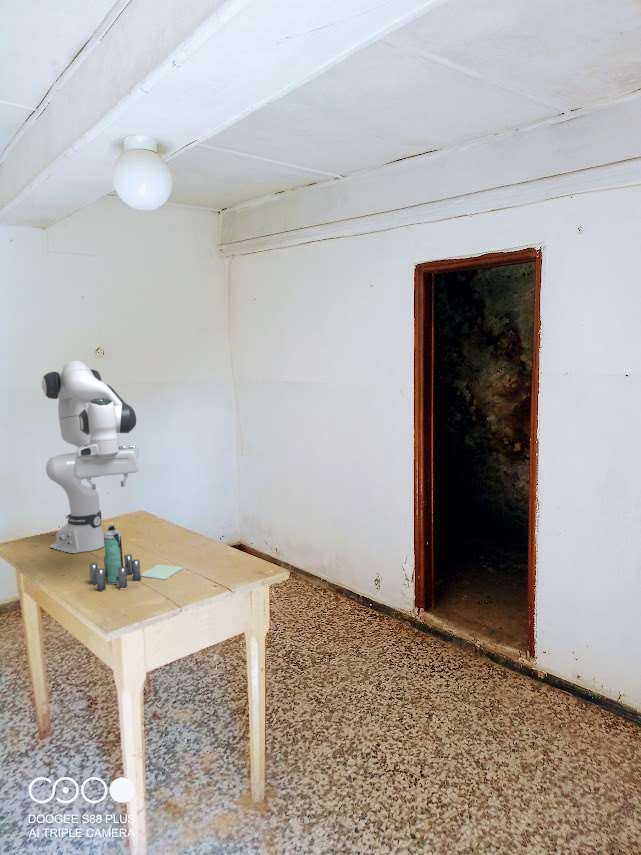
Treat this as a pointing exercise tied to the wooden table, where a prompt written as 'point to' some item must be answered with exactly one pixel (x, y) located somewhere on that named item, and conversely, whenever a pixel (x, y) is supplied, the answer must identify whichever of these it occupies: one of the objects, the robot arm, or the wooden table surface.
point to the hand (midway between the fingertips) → (108, 488)
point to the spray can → (113, 554)
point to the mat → (161, 572)
